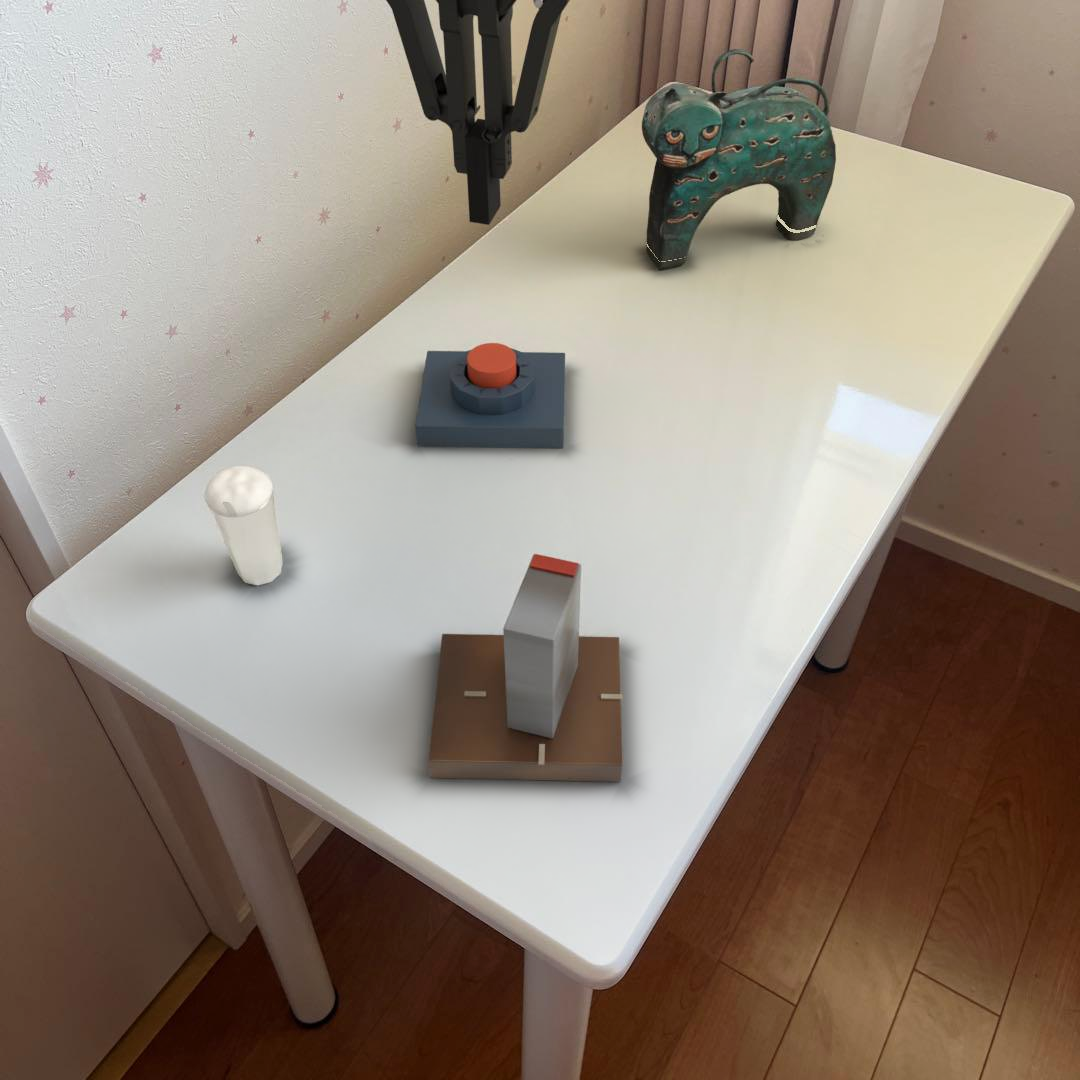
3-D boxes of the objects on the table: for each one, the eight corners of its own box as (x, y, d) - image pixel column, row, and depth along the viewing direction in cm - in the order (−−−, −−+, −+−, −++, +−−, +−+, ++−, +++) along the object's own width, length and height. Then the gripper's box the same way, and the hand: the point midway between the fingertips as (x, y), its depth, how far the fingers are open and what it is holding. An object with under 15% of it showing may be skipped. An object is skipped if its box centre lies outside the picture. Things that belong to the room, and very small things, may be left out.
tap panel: (429, 779, 69) (427, 761, 68) (444, 650, 76) (441, 630, 75) (622, 783, 69) (624, 765, 67) (619, 653, 76) (620, 634, 74)
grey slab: (552, 739, 69) (553, 637, 61) (507, 727, 69) (502, 625, 62) (578, 665, 73) (581, 561, 65) (534, 654, 73) (533, 550, 66)
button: (466, 389, 90) (465, 372, 89) (469, 359, 93) (468, 342, 91) (515, 390, 90) (514, 373, 89) (517, 359, 93) (517, 342, 91)
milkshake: (222, 602, 79) (190, 503, 72) (234, 547, 83) (204, 448, 76) (286, 600, 79) (260, 501, 72) (295, 545, 83) (271, 446, 76)
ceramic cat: (647, 280, 107) (663, 75, 92) (622, 245, 111) (633, 44, 97) (829, 243, 111) (871, 42, 97) (798, 211, 116) (834, 14, 101)
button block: (417, 446, 91) (413, 408, 88) (429, 370, 97) (425, 333, 95) (563, 448, 90) (564, 411, 87) (564, 372, 97) (565, 335, 94)
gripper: (595, -166, 65) (584, 201, 82) (387, -183, 67) (419, 176, 84) (560, -127, 60) (556, 255, 77) (337, -147, 62) (382, 227, 79)
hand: (485, 213), depth 81 cm, fingers closed
